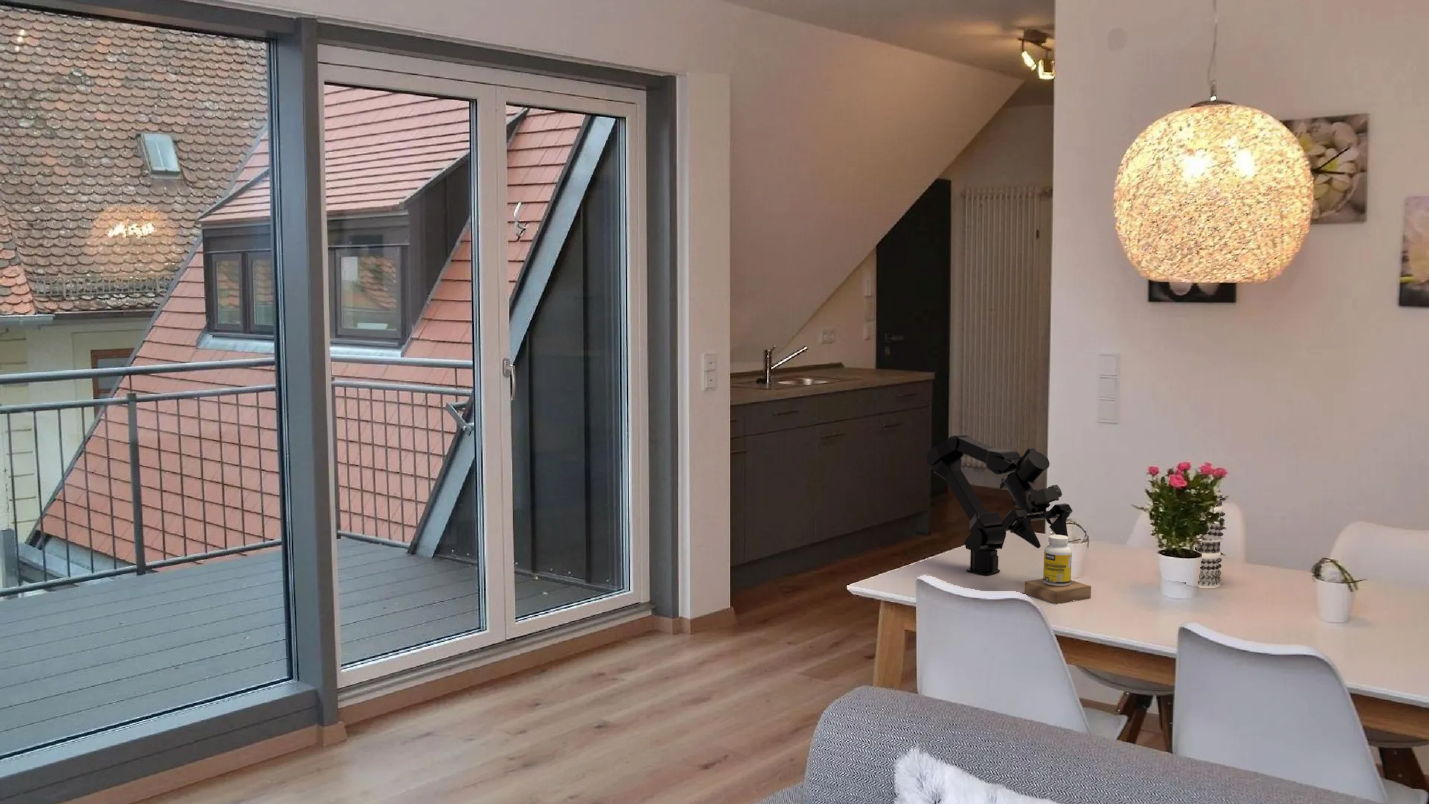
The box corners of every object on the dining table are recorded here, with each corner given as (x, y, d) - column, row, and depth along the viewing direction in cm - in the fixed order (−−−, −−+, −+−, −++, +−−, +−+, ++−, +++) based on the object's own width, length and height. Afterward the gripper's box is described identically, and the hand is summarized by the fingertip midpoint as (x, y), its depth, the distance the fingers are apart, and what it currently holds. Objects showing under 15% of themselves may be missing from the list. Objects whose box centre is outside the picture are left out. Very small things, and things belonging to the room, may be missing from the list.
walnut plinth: (1024, 593, 295) (1024, 581, 294) (1057, 588, 300) (1058, 576, 300) (1056, 604, 285) (1057, 591, 285) (1090, 598, 290) (1091, 586, 290)
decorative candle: (1192, 589, 299) (1196, 489, 297) (1176, 579, 308) (1180, 483, 306) (1228, 588, 299) (1232, 489, 297) (1212, 579, 309) (1216, 483, 306)
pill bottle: (1037, 583, 293) (1039, 536, 291) (1052, 579, 297) (1054, 532, 296) (1061, 588, 288) (1062, 540, 286) (1076, 584, 292) (1077, 537, 291)
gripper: (1011, 477, 291) (1042, 530, 283) (1068, 471, 300) (1100, 523, 291) (988, 503, 299) (1017, 556, 290) (1044, 497, 308) (1074, 548, 299)
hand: (1053, 545), depth 293 cm, fingers open, 9 cm apart
